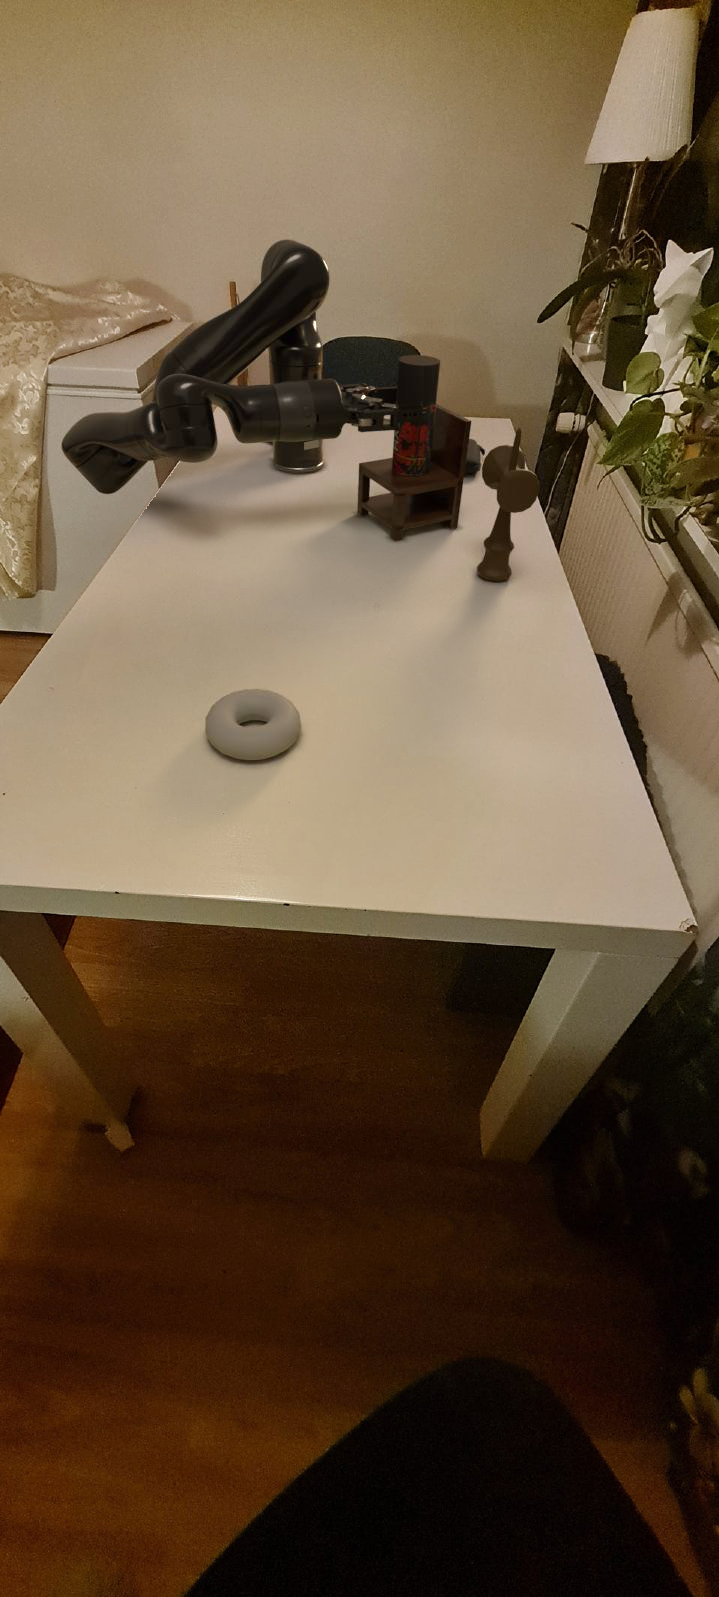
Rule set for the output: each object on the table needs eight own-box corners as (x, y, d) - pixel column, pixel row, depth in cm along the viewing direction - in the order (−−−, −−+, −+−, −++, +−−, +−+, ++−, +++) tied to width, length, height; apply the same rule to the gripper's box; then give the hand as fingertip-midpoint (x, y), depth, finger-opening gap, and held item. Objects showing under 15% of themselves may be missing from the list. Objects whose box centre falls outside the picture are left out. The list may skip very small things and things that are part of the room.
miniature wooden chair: (357, 513, 118) (360, 407, 107) (417, 501, 123) (426, 398, 111) (395, 541, 111) (403, 431, 100) (457, 527, 115) (471, 420, 104)
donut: (278, 777, 71) (315, 719, 77) (276, 751, 68) (315, 693, 75) (189, 754, 73) (232, 698, 80) (184, 728, 70) (229, 673, 77)
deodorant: (384, 467, 111) (390, 358, 101) (411, 460, 114) (420, 352, 104) (409, 479, 108) (418, 367, 98) (437, 471, 111) (449, 361, 100)
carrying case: (485, 480, 131) (483, 453, 141) (487, 462, 129) (485, 436, 139) (427, 475, 131) (430, 449, 142) (429, 458, 129) (431, 432, 140)
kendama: (506, 560, 107) (533, 416, 93) (521, 591, 100) (553, 440, 86) (467, 560, 107) (488, 415, 93) (479, 591, 100) (505, 439, 86)
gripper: (291, 424, 107) (390, 416, 111) (320, 455, 98) (427, 446, 102) (289, 367, 102) (393, 361, 106) (319, 395, 92) (432, 387, 97)
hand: (409, 403), depth 104 cm, fingers open, 8 cm apart
